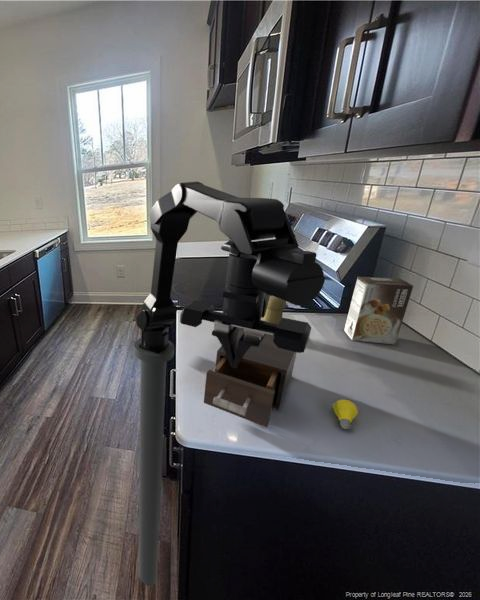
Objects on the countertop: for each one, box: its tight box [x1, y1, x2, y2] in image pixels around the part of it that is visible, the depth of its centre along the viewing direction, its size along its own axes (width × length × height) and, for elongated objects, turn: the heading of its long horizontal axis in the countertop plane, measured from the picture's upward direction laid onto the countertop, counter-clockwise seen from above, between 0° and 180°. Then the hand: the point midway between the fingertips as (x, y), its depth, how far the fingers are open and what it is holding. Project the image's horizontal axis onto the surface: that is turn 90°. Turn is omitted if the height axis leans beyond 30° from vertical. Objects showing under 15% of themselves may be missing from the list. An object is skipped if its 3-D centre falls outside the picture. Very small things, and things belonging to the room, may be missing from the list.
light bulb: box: [332, 398, 359, 430], centre depth 58 cm, size 3×6×4 cm, turn 145°
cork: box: [261, 295, 287, 324], centre depth 88 cm, size 6×6×11 cm
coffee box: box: [343, 276, 414, 345], centre depth 82 cm, size 9×6×16 cm
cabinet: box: [214, 328, 298, 411], centre depth 69 cm, size 14×13×9 cm
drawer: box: [203, 356, 281, 428], centre depth 62 cm, size 17×11×7 cm
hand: (234, 366), depth 56 cm, fingers closed
